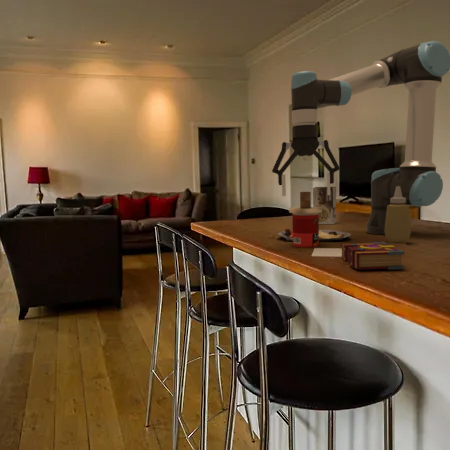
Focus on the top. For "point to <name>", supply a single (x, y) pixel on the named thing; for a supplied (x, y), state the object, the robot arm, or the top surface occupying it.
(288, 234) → the food plate
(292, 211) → the lid
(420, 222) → the top surface
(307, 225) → the canned food
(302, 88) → the robot arm
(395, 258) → the decorative book
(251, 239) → the top surface
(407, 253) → the top surface
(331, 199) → the coffee box
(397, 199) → the squeeze bottle
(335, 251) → the mat
